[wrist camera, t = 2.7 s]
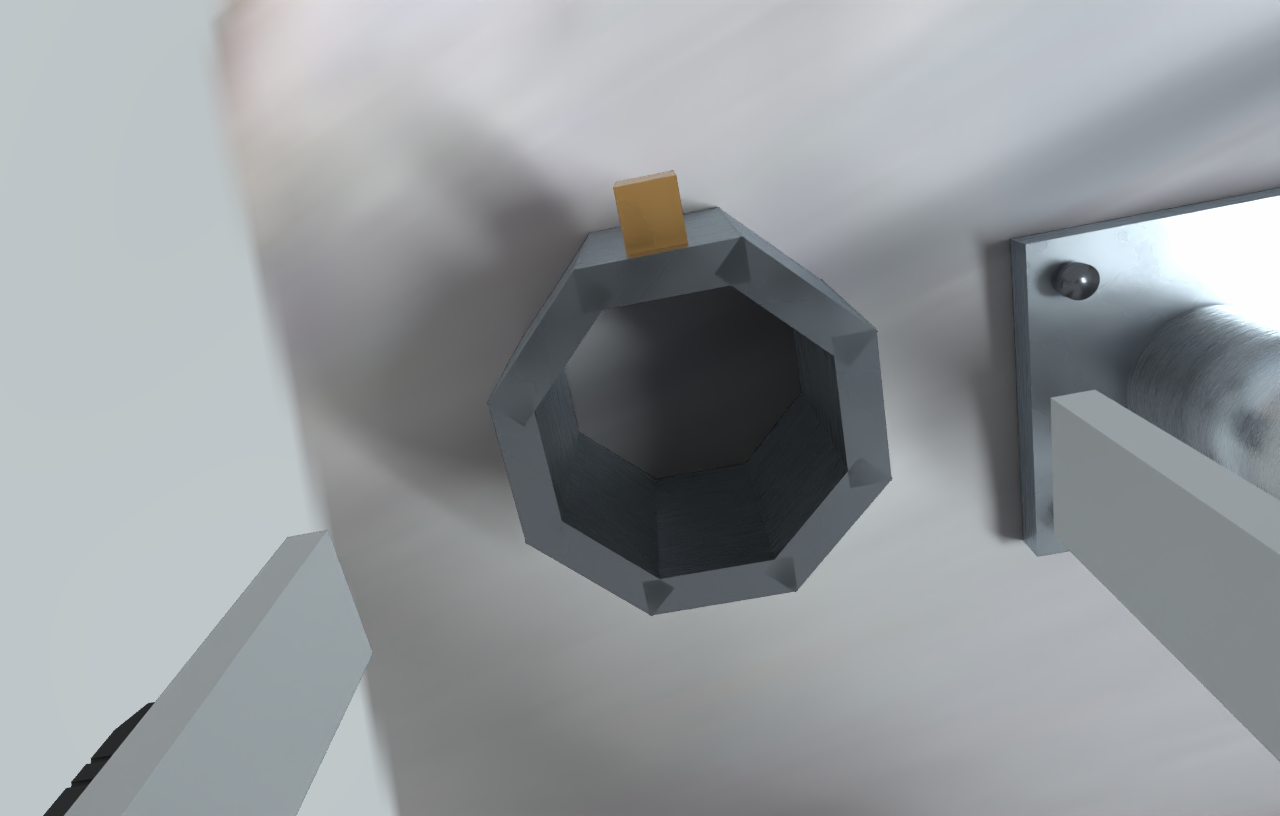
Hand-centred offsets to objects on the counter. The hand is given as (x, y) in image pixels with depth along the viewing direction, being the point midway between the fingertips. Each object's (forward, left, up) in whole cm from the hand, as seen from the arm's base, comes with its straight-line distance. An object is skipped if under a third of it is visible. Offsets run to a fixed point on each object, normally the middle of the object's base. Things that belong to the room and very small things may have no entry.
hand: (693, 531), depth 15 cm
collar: (0, 0, -11) cm, 11 cm away
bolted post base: (-3, -15, -11) cm, 19 cm away
